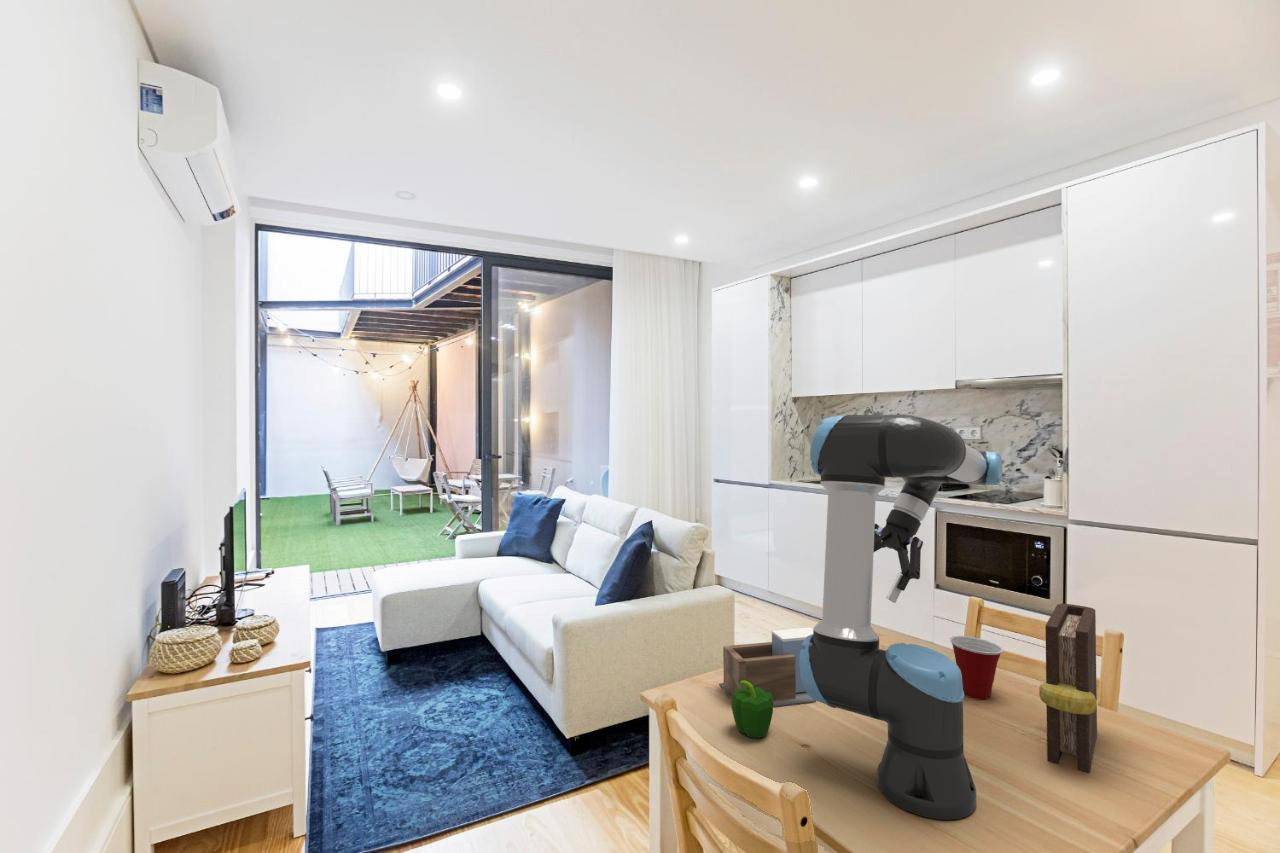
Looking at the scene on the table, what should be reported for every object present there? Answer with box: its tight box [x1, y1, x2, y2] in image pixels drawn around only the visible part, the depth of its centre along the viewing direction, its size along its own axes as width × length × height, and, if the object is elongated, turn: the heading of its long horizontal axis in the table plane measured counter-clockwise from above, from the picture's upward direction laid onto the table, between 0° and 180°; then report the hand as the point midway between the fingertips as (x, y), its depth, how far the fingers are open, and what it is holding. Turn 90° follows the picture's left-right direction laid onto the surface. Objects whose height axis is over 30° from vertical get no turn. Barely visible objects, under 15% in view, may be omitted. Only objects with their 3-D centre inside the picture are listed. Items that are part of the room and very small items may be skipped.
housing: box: [718, 641, 817, 708], centre depth 141 cm, size 14×18×10 cm
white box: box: [771, 627, 813, 693], centre depth 143 cm, size 6×10×13 cm, turn 103°
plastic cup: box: [949, 635, 1004, 700], centre depth 140 cm, size 11×11×12 cm
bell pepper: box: [731, 680, 774, 739], centre depth 123 cm, size 8×8×10 cm
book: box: [1038, 603, 1098, 774], centre depth 116 cm, size 22×8×25 cm, turn 139°
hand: (868, 590), depth 149 cm, fingers open, 13 cm apart
